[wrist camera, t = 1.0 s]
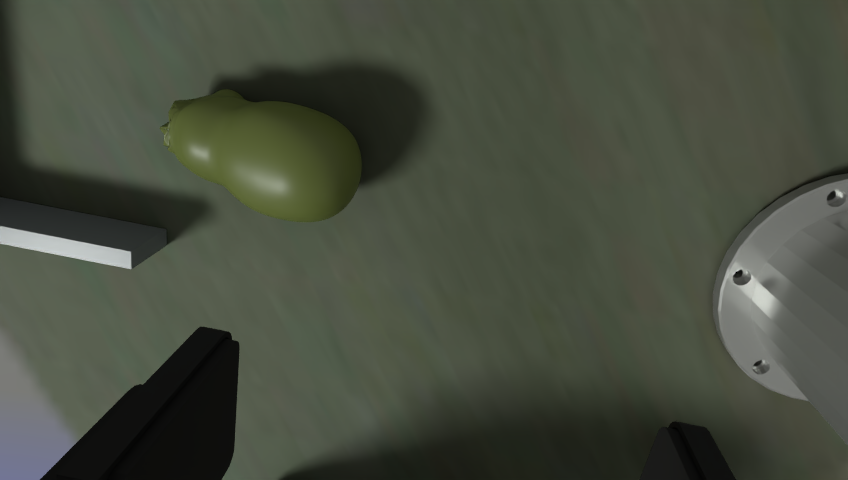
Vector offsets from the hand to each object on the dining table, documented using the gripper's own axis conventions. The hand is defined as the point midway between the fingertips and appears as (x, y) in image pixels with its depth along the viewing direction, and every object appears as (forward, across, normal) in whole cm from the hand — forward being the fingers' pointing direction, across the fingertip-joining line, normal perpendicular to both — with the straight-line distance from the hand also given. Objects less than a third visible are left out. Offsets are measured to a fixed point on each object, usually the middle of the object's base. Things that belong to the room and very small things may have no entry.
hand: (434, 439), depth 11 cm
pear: (+20, +10, 0) cm, 23 cm away
